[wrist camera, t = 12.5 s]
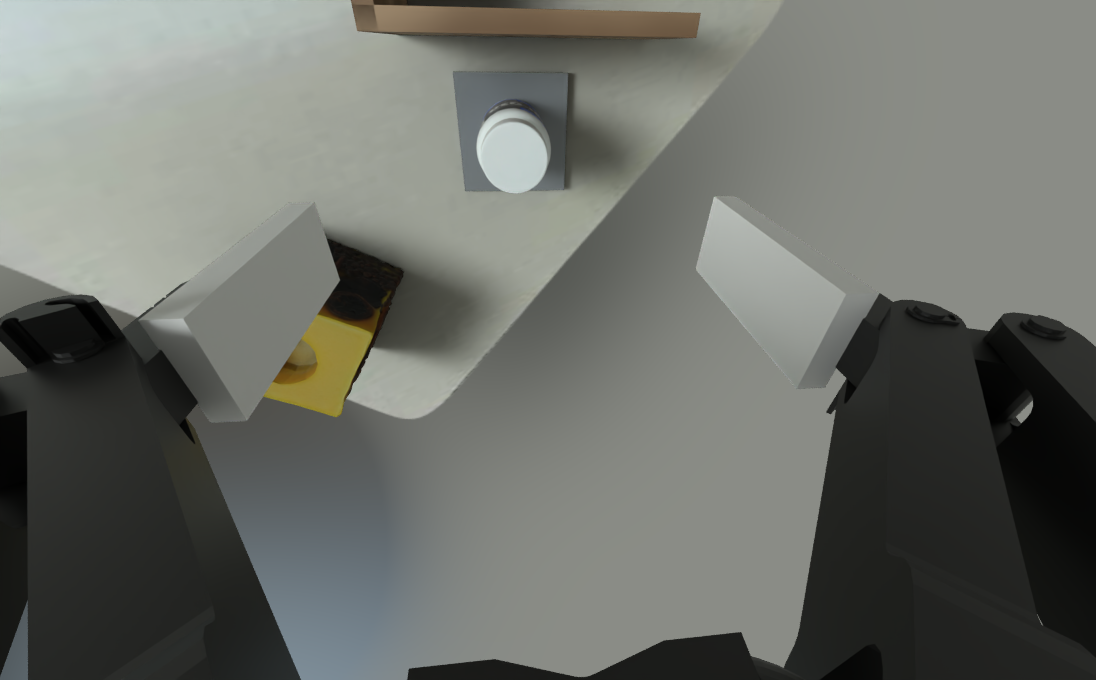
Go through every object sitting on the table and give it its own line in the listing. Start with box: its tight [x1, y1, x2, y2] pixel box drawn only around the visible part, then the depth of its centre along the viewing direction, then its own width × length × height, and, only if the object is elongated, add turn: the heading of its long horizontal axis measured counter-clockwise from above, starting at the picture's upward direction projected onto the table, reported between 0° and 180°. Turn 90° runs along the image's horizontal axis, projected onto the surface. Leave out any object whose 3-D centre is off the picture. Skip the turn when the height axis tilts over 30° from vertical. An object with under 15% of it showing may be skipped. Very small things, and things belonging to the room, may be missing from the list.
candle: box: [263, 239, 404, 417], centre depth 33 cm, size 10×10×10 cm
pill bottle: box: [476, 99, 551, 193], centre depth 27 cm, size 5×5×8 cm
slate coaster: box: [453, 71, 568, 191], centre depth 31 cm, size 8×8×1 cm
